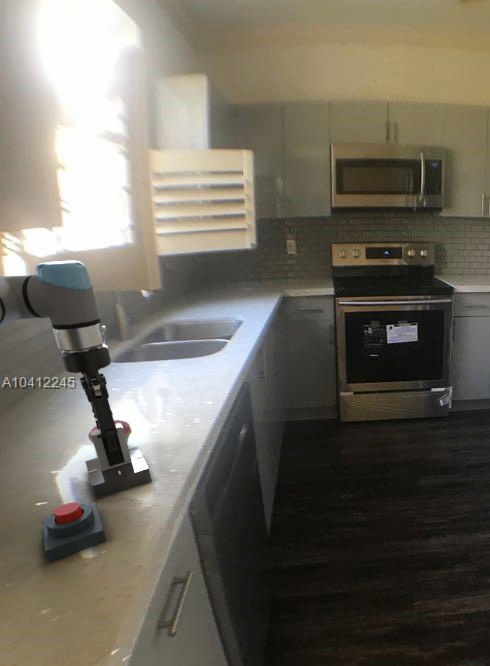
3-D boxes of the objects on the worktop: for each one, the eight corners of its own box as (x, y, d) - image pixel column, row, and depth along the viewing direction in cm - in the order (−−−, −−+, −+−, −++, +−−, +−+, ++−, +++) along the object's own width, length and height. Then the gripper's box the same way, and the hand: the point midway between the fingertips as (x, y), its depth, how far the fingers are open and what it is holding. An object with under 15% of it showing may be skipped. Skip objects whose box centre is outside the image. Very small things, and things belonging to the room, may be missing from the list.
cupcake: (143, 445, 108) (132, 398, 103) (110, 462, 101) (96, 412, 96) (119, 439, 111) (106, 393, 107) (85, 455, 104) (70, 407, 100)
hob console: (88, 473, 97) (84, 460, 95) (140, 458, 102) (137, 445, 101) (95, 499, 87) (91, 485, 86) (152, 481, 93) (148, 467, 92)
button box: (46, 530, 79) (39, 510, 78) (99, 512, 84) (93, 493, 82) (48, 562, 72) (41, 541, 70) (106, 540, 76) (100, 520, 75)
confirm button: (56, 516, 77) (53, 507, 76) (81, 508, 79) (78, 499, 78) (57, 527, 74) (54, 518, 73) (83, 518, 76) (80, 509, 75)
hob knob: (101, 471, 91) (91, 434, 88) (100, 466, 93) (89, 430, 90) (132, 462, 94) (122, 426, 91) (130, 457, 96) (120, 422, 93)
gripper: (115, 355, 79) (144, 469, 87) (99, 333, 95) (125, 432, 103) (63, 364, 75) (99, 483, 83) (56, 340, 91) (87, 442, 99)
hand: (113, 455), depth 93 cm, fingers open, 8 cm apart
